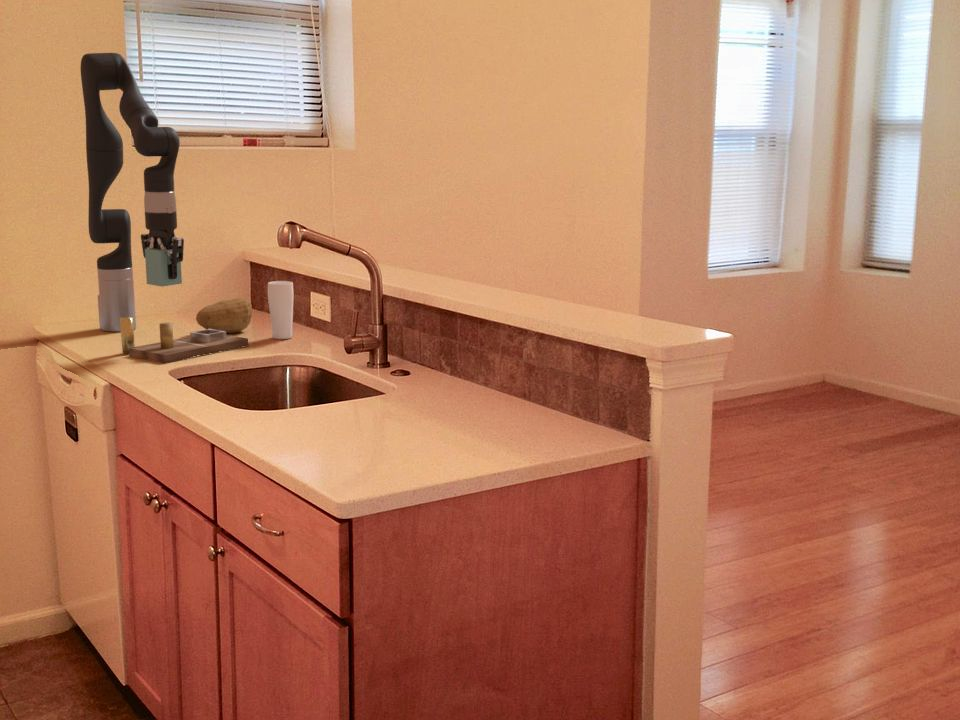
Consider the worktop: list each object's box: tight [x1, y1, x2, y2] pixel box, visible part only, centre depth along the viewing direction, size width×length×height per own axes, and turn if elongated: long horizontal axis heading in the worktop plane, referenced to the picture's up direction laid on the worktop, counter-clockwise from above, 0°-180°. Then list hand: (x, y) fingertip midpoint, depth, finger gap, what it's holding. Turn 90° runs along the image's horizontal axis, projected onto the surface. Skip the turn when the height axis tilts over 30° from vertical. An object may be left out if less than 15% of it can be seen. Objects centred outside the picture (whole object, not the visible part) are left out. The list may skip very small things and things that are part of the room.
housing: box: [144, 248, 183, 288], centre depth 268 cm, size 6×6×9 cm
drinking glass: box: [267, 280, 295, 340], centre depth 287 cm, size 7×7×15 cm
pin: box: [120, 317, 136, 355], centre depth 268 cm, size 3×3×9 cm
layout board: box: [129, 322, 249, 364], centre depth 271 cm, size 14×26×8 cm, turn 144°
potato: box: [195, 297, 253, 334], centre depth 295 cm, size 9×16×9 cm, turn 117°
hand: (164, 277), depth 269 cm, fingers closed on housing, 6 cm apart
